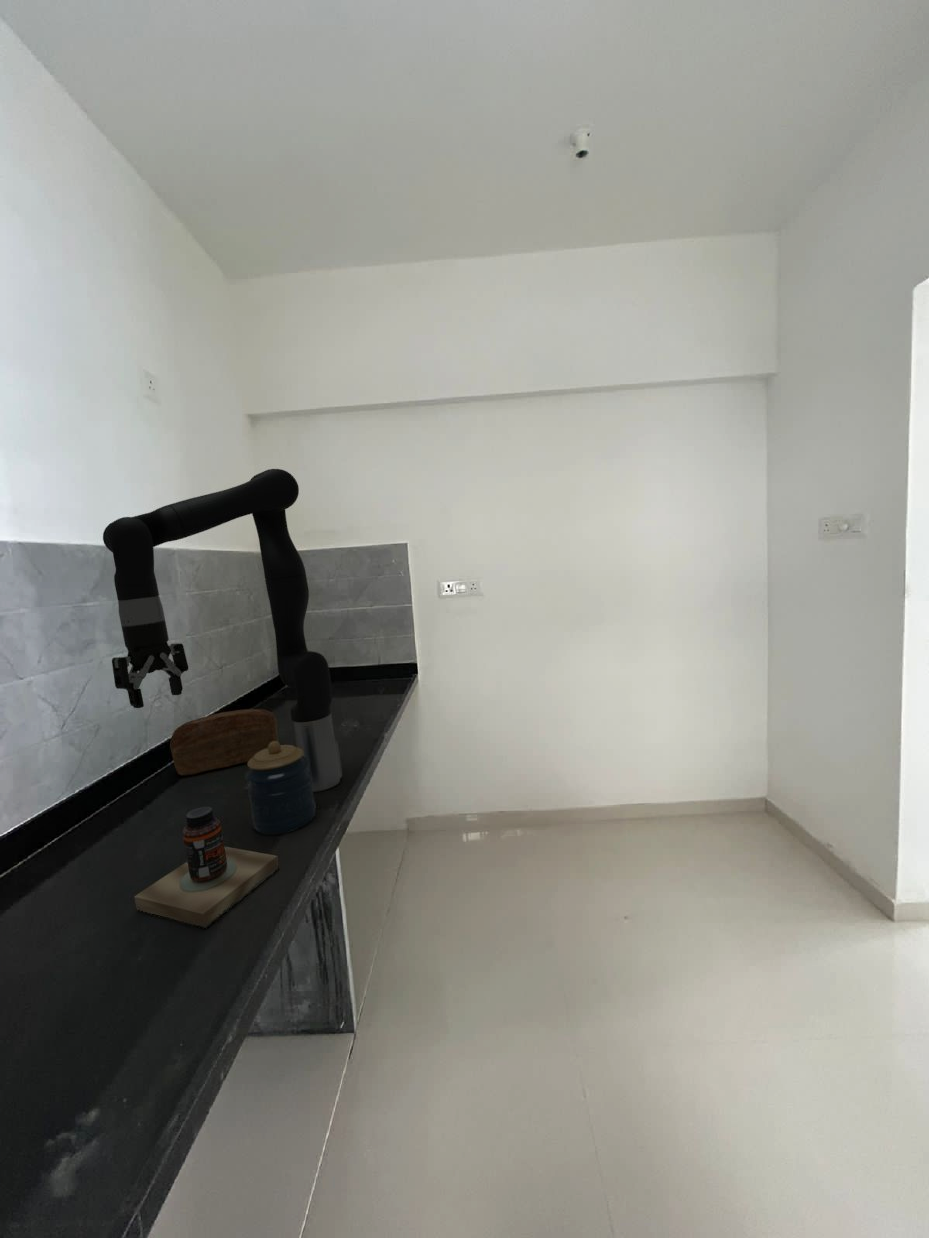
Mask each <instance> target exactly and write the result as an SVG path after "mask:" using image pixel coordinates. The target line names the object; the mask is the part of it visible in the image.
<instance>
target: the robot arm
mask: <svg viewBox="0 0 929 1238" xmlns="http://www.w3.org/2000/svg"><path fill="white" fill-rule="evenodd" d="M299 487H300V486H299V484H298V482H297V480H296V478H295V477H294V475H292V474H291V473H290V472H288V471H287V470H284V469H281V468H270V469H266V470H264V471H261V472H259V473H257V474H255V475H254V476H252V477H251V478H250V479H249V481H246V482H243V483H241V484H238V485H236V486H233V487H229V488H226V489H223V490H220V491H216V492H211V493H208V494H203V495H200V496H194V497H190V498H187V499H184V500H180V501H176V502H173V503H171V504H167V505H163V506H161V507H159V508H157V509H155V510H151V511H150V512H146V513H142V514H138V515H135V516H134V515H133V516H124V517H119V518H118V519H116V520H113V521H112V522H111V523H109V524H108V525H107V526H106V527H105V528H104V530H103V533H102V540H103V541H102V542H103V544H104V545H105V547H106V549H108V550H109V551H110V552H111V553H112V556H113V557H112V558H113V562H114V566H115V572H114V575H113V578H114V579H113V582H114V588H115V592H116V593H115V594H116V597H117V604H118V616H119V621H120V625H121V631H122V636H123V642H124V647H126V649H127V656H124V657H123V656H121V657H112V659H111V666H112V672H113V673H112V674H113V678H114V679H113V680H114V686H115V689H118V690H119V689H120V690H121V689H122V690H126V691H127V695H128V699H129V704H130V706H132V707H133V709H141V708H144V706H145V704H144V698H143V694H142V689H141V688H140V687H141V684H142V682H143V680H144V679H145V678H147V677H146V676H147V674H152V673H154V672H156V671H163V672H164V673H165V674H167V675H168V676H169V677H168V682H169V689H170V694H171V695H172V696H180V695H182V694H183V693H182V691H183V684H182V678H181V677H182V675H183V673H184V672H187V671H189V665H188V660H187V656H186V653H185V652H186V651H185V648H184V645H183V643H181V642H180V643H179V642H178V643H171V644H170V645H169V644H168V642H169V634H168V628H167V624H166V623H167V622H166V617H165V612H164V608H163V607H164V606H163V604H162V601H161V599H160V598H161V597H160V593H159V588H158V583H157V578H156V574H155V553H154V551H155V550H154V548H155V547H157V546H161V545H162V544H165V543H169V542H174V541H179V540H182V539H186V538H189V537H191V536H195V535H196V534H200V533H202V532H205V531H208V530H211V529H213V528H216V527H219V526H221V525H224V524H226V523H228V522H231V521H233V520H236V519H239V518H242V517H244V516H248V515H252V519H253V522H254V525H255V528H256V531H257V538H258V542H259V543H258V544H259V550H260V555H261V562H262V566H263V575H264V579H265V581H264V582H265V587H266V591H267V596H268V600H269V605H270V611H271V612H270V613H271V618H272V624H273V629H274V635H275V646H276V660H277V671H278V672H277V673H278V675H279V678H280V680H281V681H282V683H283V684H284V685H286V686H287V687H289V688H291V689H295V692H296V704H294V705H293V706H292V707H291V709H290V718H291V724H292V731H293V735H294V736H293V737H294V742H295V747H297V748H300V749H302V750H303V752H304V754H303V757H306V758H307V759H308V760H309V765H308V767H307V768H308V772H309V773H310V774H311V783H312V790H313V793H314V792H315V793H316V792H322V791H325V790H328V789H331V788H333V787H335V786H336V785H338V784H339V783H340V782H341V778H343V772H342V770H343V769H342V764H341V758H340V756H341V755H340V749H339V742H338V740H337V739H335V731H334V726H333V719H332V718H333V717H332V709H331V705H332V701H333V693H332V683H331V682H332V680H331V673H330V667H329V663H328V661H327V659H326V657H325V656H324V655H323V654H322V653H319V652H316V651H312V650H311V651H310V650H308V647H307V643H306V637H305V631H304V624H305V620H306V619H305V618H306V614H307V610H308V604H309V597H310V592H309V591H310V590H309V584H308V577H307V573H306V568H305V565H304V562H303V559H302V557H301V556H300V554H299V551H298V549H297V548H296V546H295V544H294V543H293V542H294V541H293V540H292V538H291V535H290V533H289V528H288V522H287V515H286V510H288V509H289V508H290V507H292V506H293V505H294V504H295V503H296V501H297V500H298V497H299V491H300V488H299ZM170 655H171V656H172V660H173V661H172V660H171V659H170ZM130 665H131V667H130V669H128V668H129V666H130Z"/></svg>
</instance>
